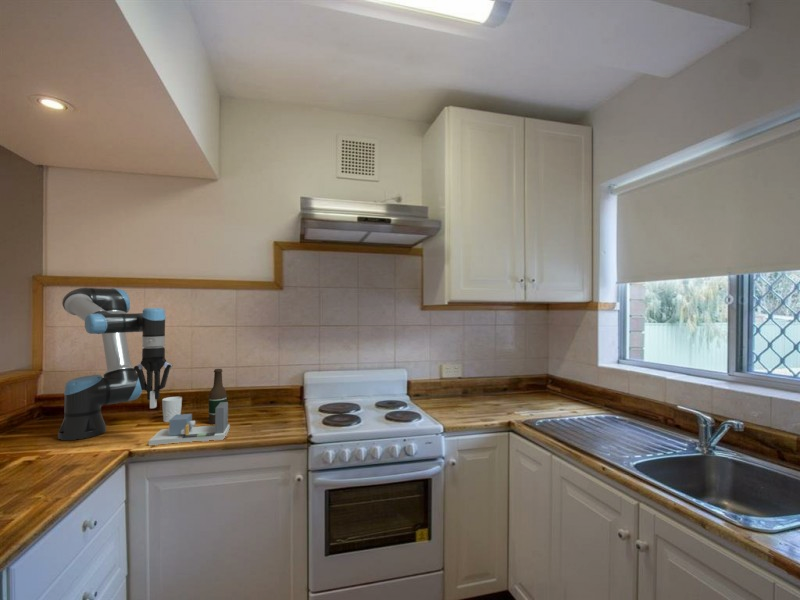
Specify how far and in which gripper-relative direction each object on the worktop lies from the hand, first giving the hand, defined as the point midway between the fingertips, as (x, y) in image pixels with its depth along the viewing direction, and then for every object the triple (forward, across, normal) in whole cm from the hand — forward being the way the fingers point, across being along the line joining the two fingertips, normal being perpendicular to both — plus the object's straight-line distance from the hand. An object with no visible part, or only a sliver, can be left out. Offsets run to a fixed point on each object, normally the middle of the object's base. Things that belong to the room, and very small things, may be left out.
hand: (153, 407), depth 150 cm
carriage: (+11, +11, -1) cm, 15 cm away
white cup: (+13, -1, +28) cm, 31 cm away
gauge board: (+13, +14, 0) cm, 19 cm away
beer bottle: (+13, +20, +19) cm, 31 cm away
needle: (+10, +13, -5) cm, 18 cm away
